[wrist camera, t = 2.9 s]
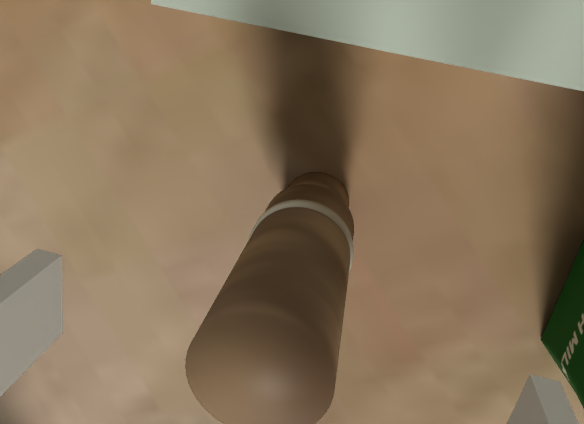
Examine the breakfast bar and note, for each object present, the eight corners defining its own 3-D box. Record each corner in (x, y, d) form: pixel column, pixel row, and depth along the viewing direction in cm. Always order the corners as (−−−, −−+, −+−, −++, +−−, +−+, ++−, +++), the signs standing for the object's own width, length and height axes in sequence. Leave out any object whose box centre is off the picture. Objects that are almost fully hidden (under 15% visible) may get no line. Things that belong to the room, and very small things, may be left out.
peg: (269, 230, 26) (175, 416, 14) (282, 154, 25) (190, 292, 13) (348, 249, 26) (320, 455, 14) (367, 173, 24) (354, 333, 13)
